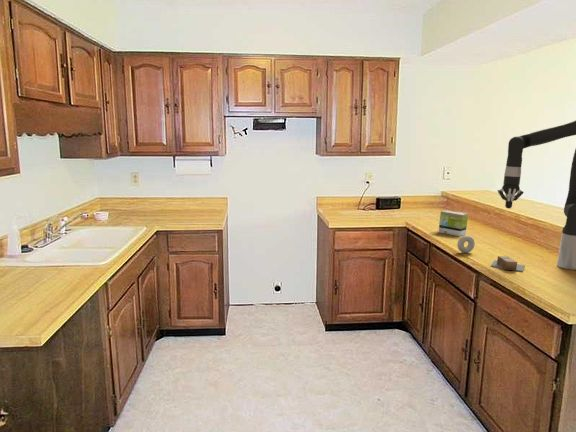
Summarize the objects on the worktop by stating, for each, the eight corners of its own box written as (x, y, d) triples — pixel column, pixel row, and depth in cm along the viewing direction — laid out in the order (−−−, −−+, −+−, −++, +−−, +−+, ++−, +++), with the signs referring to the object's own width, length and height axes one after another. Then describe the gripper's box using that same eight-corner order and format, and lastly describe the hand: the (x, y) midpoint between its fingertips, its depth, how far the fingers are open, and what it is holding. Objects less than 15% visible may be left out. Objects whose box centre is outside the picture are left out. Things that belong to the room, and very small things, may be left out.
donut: (471, 252, 242) (473, 234, 241) (475, 253, 239) (477, 236, 237) (455, 252, 240) (457, 234, 239) (458, 254, 237) (460, 236, 235)
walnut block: (497, 255, 218) (506, 261, 208) (507, 256, 218) (517, 262, 208) (496, 263, 219) (505, 269, 209) (506, 264, 218) (516, 270, 209)
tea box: (437, 232, 291) (440, 211, 289) (444, 230, 299) (446, 209, 296) (460, 236, 281) (462, 214, 279) (466, 234, 289) (468, 212, 286)
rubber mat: (524, 266, 218) (525, 265, 217) (522, 272, 208) (522, 270, 208) (494, 261, 225) (494, 260, 225) (490, 266, 215) (490, 265, 215)
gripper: (502, 175, 222) (498, 208, 225) (529, 176, 222) (524, 210, 225) (496, 174, 230) (492, 206, 233) (522, 175, 229) (517, 207, 232)
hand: (508, 208), depth 229 cm, fingers closed
